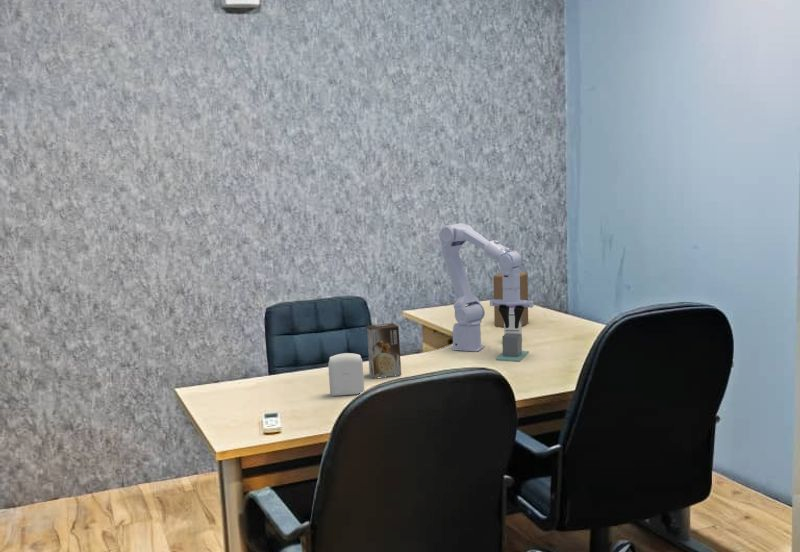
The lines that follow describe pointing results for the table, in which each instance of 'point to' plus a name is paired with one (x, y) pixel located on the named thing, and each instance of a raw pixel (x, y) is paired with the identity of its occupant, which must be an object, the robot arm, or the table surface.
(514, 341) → the dark grey block
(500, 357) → the teal base stand
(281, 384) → the table surface
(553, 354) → the table surface
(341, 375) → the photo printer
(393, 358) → the coffee box
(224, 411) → the table surface
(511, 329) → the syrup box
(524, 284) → the wooden block
